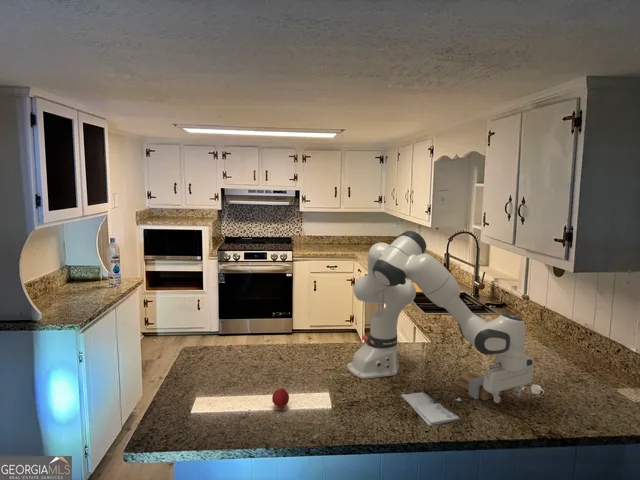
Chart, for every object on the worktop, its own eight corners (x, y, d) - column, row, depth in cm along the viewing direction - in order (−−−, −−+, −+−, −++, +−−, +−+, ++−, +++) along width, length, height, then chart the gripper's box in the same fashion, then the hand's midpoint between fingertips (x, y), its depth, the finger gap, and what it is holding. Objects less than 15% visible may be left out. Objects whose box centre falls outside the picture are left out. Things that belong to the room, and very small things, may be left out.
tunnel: (476, 400, 148) (477, 384, 147) (468, 395, 151) (469, 379, 150) (501, 393, 153) (502, 377, 152) (493, 388, 156) (494, 373, 156)
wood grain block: (483, 400, 147) (484, 389, 146) (459, 385, 158) (459, 375, 157) (502, 395, 151) (502, 384, 150) (476, 380, 161) (477, 371, 161)
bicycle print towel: (429, 427, 134) (429, 421, 133) (400, 397, 153) (400, 391, 153) (479, 418, 139) (479, 412, 139) (445, 389, 158) (445, 384, 158)
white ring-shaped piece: (516, 392, 156) (517, 382, 155) (532, 389, 159) (533, 379, 158) (536, 404, 148) (537, 393, 147) (552, 400, 151) (553, 389, 150)
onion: (280, 401, 148) (280, 380, 147) (292, 407, 144) (292, 386, 143) (269, 408, 144) (268, 387, 143) (280, 414, 140) (280, 392, 139)
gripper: (494, 370, 134) (492, 410, 136) (537, 359, 142) (534, 396, 144) (479, 362, 140) (477, 401, 141) (521, 352, 148) (519, 388, 150)
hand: (506, 398), depth 143 cm, fingers open, 8 cm apart
